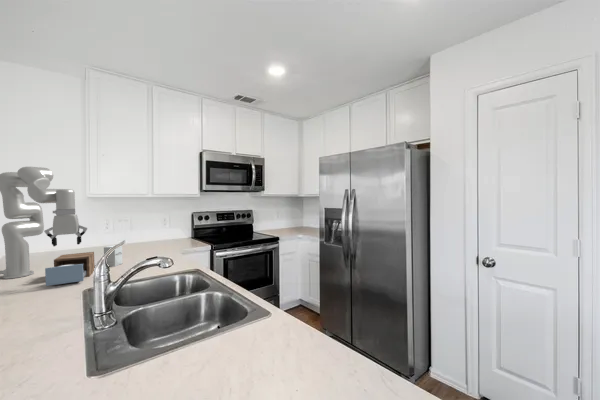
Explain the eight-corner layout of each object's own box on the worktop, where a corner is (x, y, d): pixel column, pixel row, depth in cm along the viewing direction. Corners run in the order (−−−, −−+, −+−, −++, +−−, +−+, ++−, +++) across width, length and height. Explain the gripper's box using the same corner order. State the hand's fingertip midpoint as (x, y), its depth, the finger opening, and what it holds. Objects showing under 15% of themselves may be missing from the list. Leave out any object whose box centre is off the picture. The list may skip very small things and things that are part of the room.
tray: (55, 278, 144) (54, 262, 144) (89, 274, 151) (88, 258, 151) (45, 285, 132) (45, 268, 132) (83, 280, 139) (82, 264, 138)
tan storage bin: (62, 274, 156) (62, 254, 155) (94, 270, 163) (93, 251, 163) (54, 281, 143) (53, 259, 143) (89, 276, 150) (88, 256, 150)
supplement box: (115, 266, 171) (114, 247, 171) (103, 266, 171) (103, 247, 171) (123, 263, 178) (122, 244, 178) (112, 263, 179) (111, 245, 178)
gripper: (41, 213, 133) (42, 248, 133) (85, 212, 141) (86, 244, 141) (46, 212, 139) (47, 245, 140) (88, 211, 147) (89, 242, 148)
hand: (67, 244), depth 140 cm, fingers open, 9 cm apart
